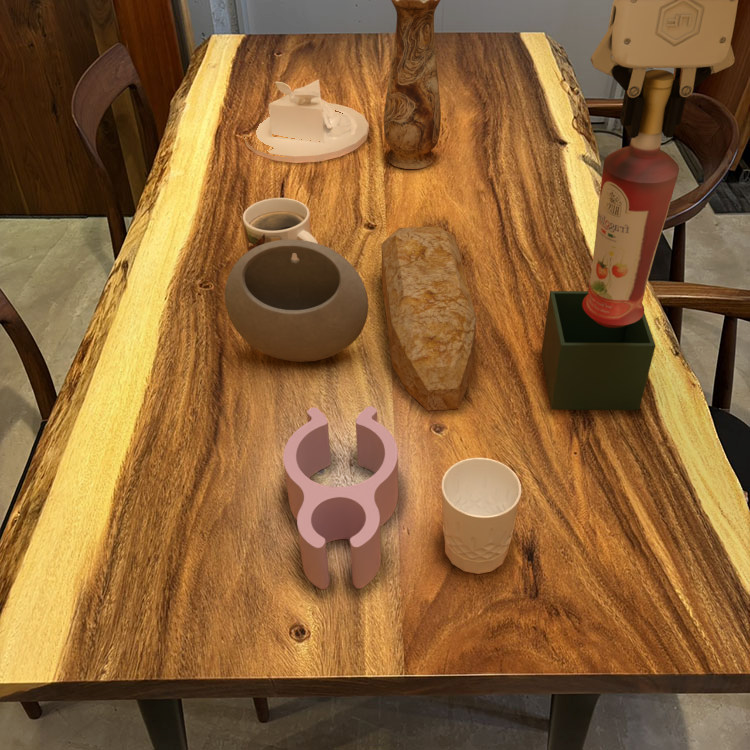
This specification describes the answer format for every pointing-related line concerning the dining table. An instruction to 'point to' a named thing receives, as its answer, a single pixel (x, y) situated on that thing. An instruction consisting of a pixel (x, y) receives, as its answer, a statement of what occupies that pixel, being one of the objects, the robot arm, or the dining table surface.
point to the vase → (413, 87)
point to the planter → (296, 300)
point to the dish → (309, 127)
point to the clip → (341, 496)
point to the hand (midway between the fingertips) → (648, 130)
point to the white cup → (479, 513)
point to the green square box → (593, 358)
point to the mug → (277, 222)
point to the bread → (428, 315)
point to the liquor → (632, 213)
